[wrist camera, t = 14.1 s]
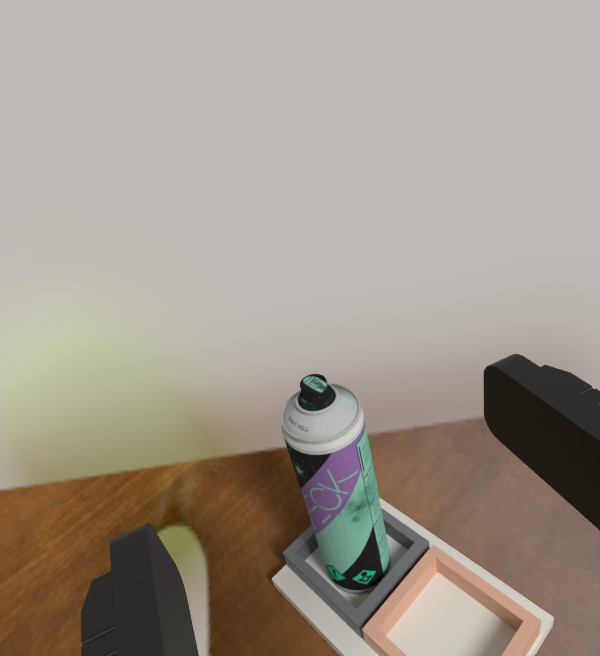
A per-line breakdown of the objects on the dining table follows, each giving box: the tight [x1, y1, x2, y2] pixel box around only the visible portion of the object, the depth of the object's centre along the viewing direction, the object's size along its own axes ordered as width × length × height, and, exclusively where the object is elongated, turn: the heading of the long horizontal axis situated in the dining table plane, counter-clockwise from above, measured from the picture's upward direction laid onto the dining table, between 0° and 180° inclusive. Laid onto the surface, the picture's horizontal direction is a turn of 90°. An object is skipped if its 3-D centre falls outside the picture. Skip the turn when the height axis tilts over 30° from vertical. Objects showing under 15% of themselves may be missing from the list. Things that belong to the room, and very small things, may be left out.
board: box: [271, 498, 554, 656], centre depth 38 cm, size 12×18×3 cm, turn 42°
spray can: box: [281, 374, 391, 595], centre depth 36 cm, size 6×6×20 cm
